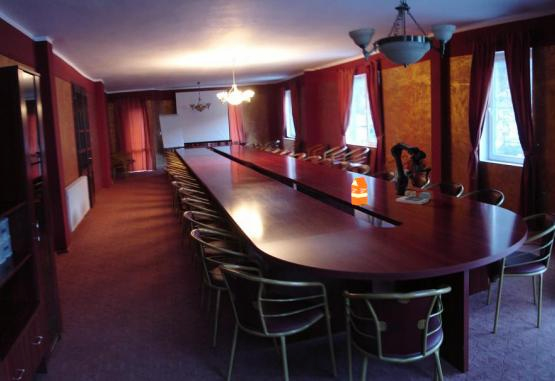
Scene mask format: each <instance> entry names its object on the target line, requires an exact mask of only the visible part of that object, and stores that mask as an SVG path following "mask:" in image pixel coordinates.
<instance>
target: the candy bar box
mask: <svg viewBox="0 0 555 381" xmlns="http://www.w3.org/2000/svg"><path fill="white" fill-rule="evenodd" d="M407 171H410V170H409V169H404V174H405V173H406V172H407ZM393 178H394V185H395V184H396V182H397V178H398V171H397V169H394V177H393ZM408 179H410V178H409V177H408ZM409 184H410V182H409V183H408V187H406V189H407V190H409V188H410V186H409ZM394 189H395V190H397V187H395V186H394Z"/></svg>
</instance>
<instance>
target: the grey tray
mask: <svg viewBox="0 0 555 381" xmlns="http://www.w3.org/2000/svg"><path fill="white" fill-rule="evenodd" d="M395 202H397V203H404V204H413V205H424V204H427V203H428V202H429V200H428V199H423V197H419V196H416V197H414V196H411V197H405V195H402V196H400V197H397V198H395Z"/></svg>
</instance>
